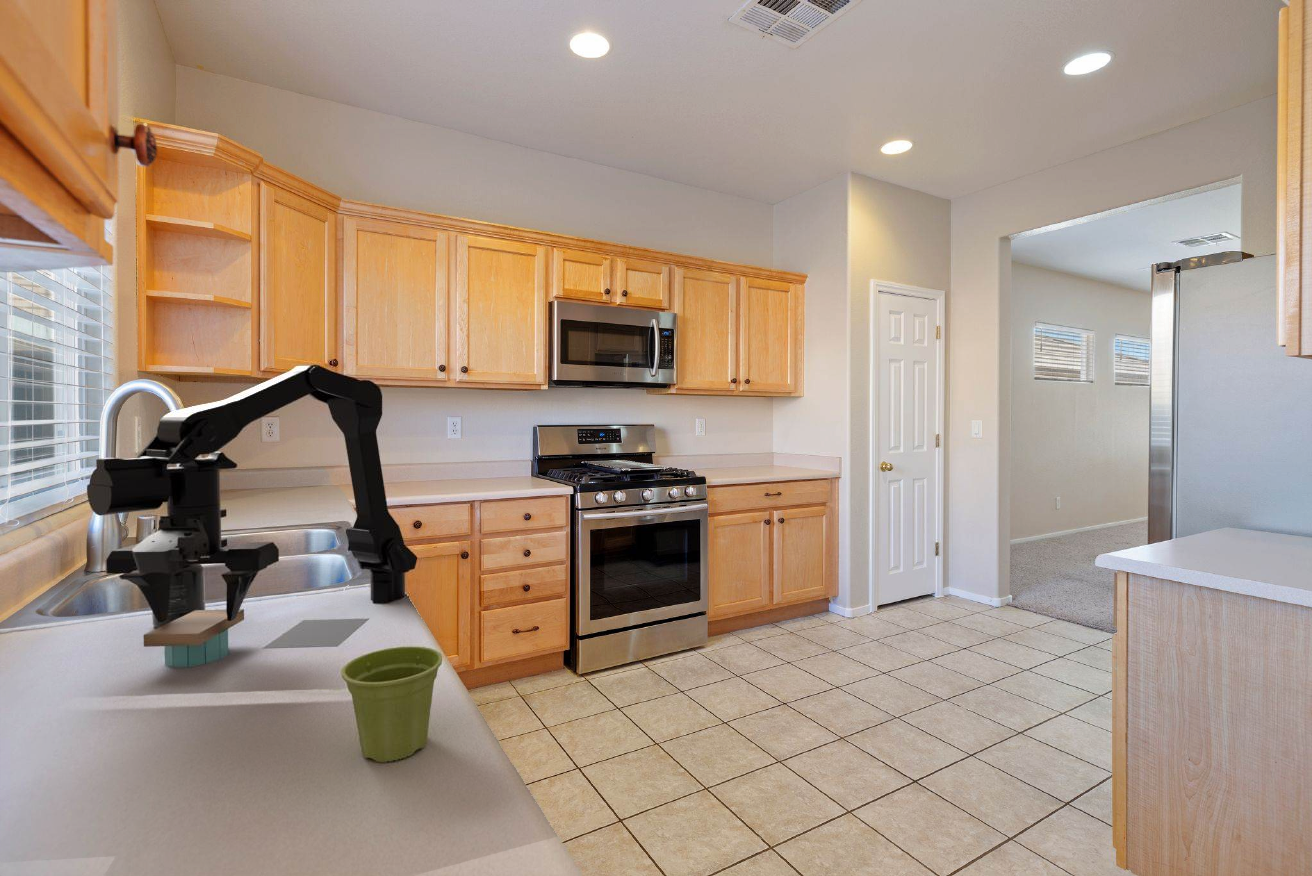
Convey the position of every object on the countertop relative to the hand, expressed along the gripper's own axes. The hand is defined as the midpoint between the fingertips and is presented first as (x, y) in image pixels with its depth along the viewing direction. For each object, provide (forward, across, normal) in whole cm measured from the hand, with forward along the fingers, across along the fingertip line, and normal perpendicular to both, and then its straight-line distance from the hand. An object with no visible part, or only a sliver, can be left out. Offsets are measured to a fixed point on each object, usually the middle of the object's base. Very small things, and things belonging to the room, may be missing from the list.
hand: (197, 621), depth 84 cm
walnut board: (+2, 0, 0) cm, 2 cm away
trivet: (+6, +12, +8) cm, 16 cm away
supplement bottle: (+6, -14, +18) cm, 24 cm away
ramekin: (+6, 0, 0) cm, 6 cm away
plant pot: (+6, +33, -24) cm, 41 cm away
